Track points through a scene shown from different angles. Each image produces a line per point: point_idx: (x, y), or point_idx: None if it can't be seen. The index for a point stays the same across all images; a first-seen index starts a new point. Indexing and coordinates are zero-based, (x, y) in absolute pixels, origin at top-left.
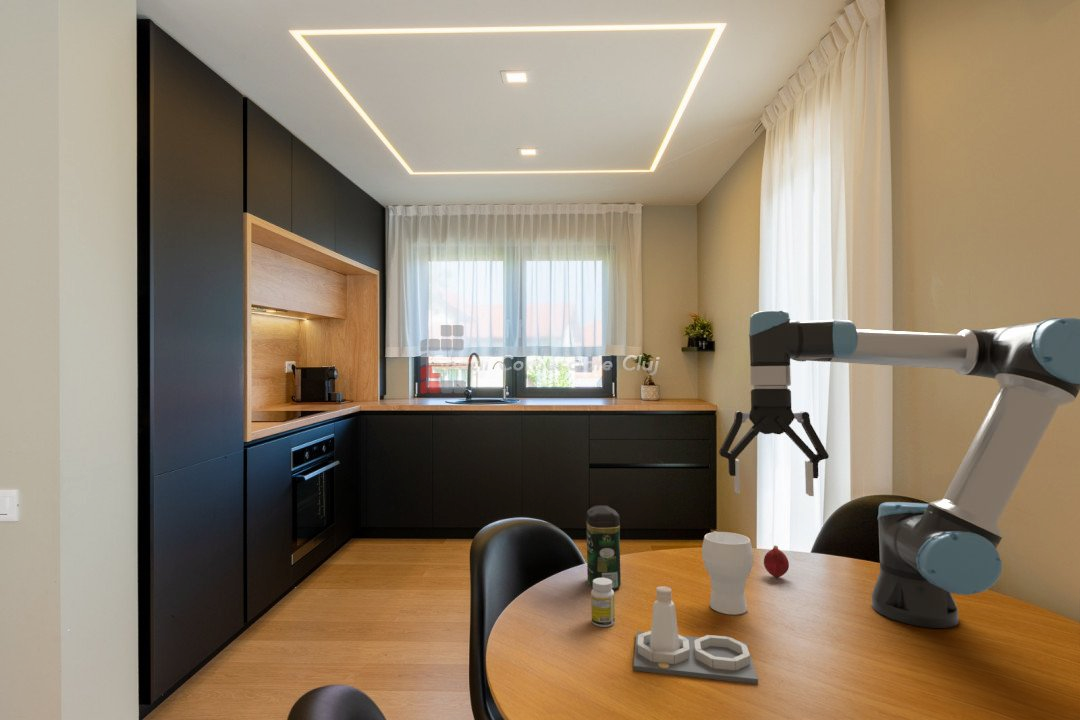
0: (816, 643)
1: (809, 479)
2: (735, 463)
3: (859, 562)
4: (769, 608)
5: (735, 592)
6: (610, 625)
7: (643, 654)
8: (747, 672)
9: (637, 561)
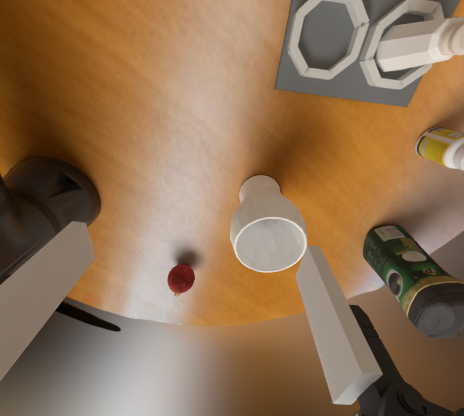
0: (185, 105)
1: (40, 264)
2: (370, 360)
3: (93, 302)
4: (213, 194)
5: (258, 188)
6: (427, 130)
7: None
8: None
9: None
